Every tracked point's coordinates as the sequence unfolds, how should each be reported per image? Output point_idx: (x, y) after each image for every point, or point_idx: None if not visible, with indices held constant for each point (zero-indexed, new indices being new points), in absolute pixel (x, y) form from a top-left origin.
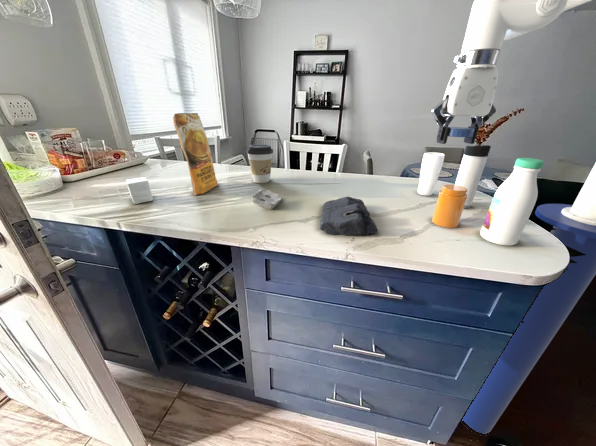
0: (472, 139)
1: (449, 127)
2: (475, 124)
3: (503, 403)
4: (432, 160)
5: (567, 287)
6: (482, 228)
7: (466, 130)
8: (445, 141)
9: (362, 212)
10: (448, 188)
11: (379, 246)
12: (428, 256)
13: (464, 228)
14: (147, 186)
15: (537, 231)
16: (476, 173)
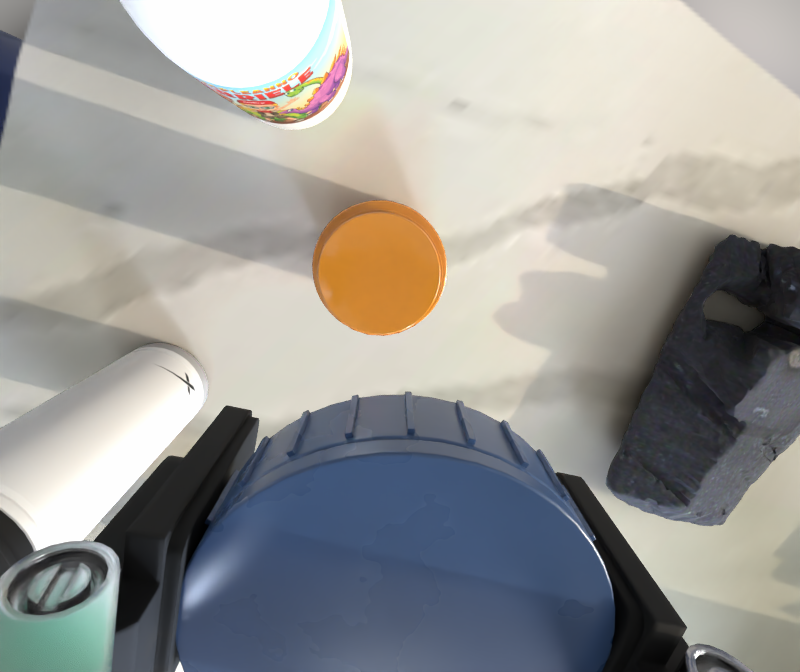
0: (245, 434)
1: (661, 620)
2: (131, 631)
3: None
4: (181, 667)
5: (21, 43)
6: (337, 98)
7: (474, 452)
8: (573, 484)
9: (730, 355)
10: (431, 272)
11: (767, 158)
12: (664, 37)
13: (343, 182)
14: None
15: (47, 58)
16: (58, 422)
